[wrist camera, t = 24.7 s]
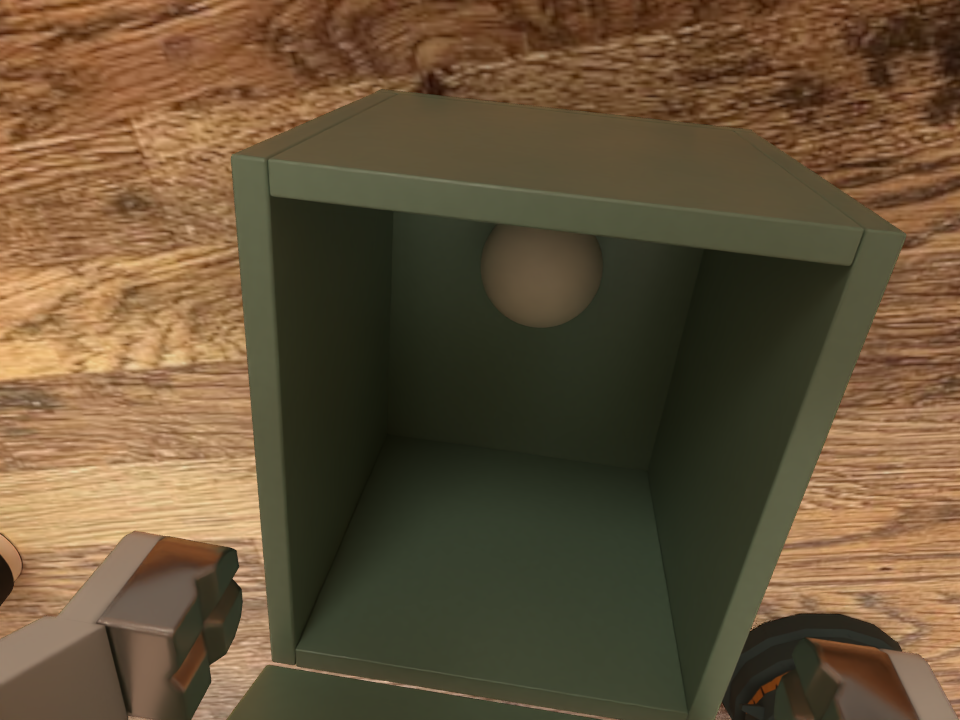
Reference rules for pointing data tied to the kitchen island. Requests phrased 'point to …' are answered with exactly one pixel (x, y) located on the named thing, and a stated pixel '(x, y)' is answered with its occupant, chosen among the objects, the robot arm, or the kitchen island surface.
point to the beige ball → (540, 274)
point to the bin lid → (365, 701)
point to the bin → (539, 395)
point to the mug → (787, 657)
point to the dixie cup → (8, 567)
